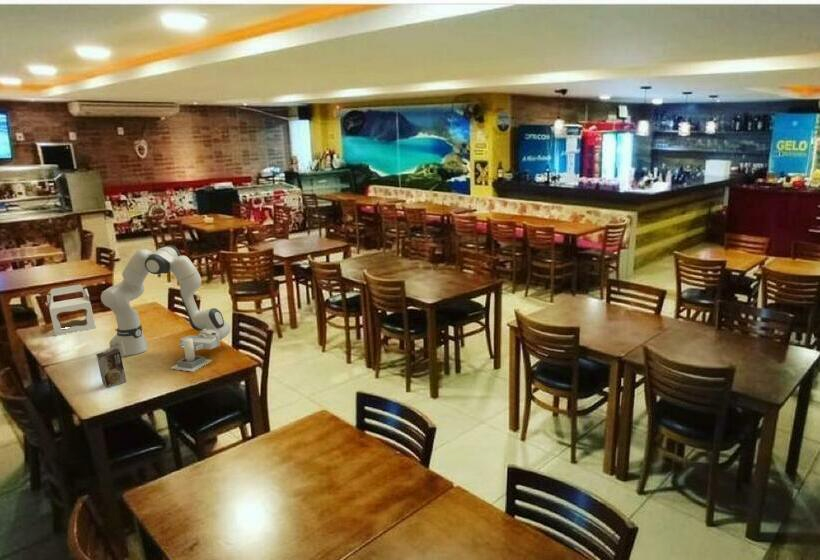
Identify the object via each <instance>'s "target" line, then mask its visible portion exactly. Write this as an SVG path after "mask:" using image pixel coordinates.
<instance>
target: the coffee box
mask: <svg viewBox="0 0 820 560" xmlns="http://www.w3.org/2000/svg"><path fill="white" fill-rule="evenodd" d="M96 359H97V364H98V367H99V369H98V370H99V372H100V373H99V374H100V377H101V382H102V385H103V386H104V387H105V388H106V389H109V388H112V387H115V386H119V385H122V384H124V383H127V378H126V373H125V372H126V371H125V368H124V364H123V358H122V357H121V353H120V351H119V350H117V349H112V350H109V351H106V350H105V351H102V352H99V353H96Z"/></svg>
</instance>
